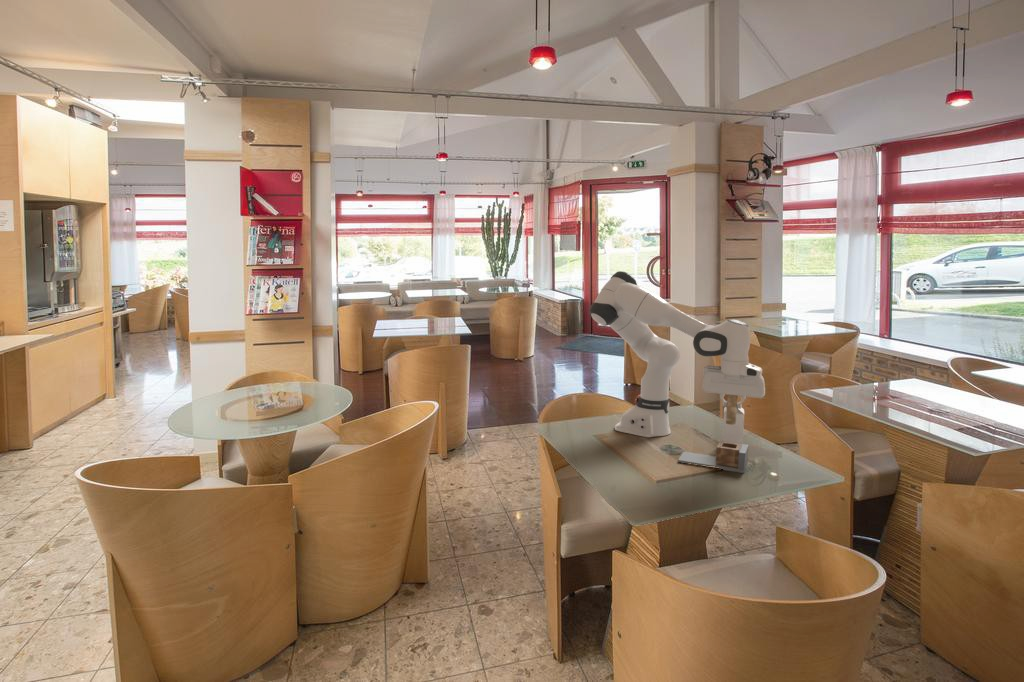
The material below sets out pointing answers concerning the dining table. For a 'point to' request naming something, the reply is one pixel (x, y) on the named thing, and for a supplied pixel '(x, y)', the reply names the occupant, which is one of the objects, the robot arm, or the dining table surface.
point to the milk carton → (734, 428)
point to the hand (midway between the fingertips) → (731, 407)
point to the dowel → (731, 409)
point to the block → (728, 453)
